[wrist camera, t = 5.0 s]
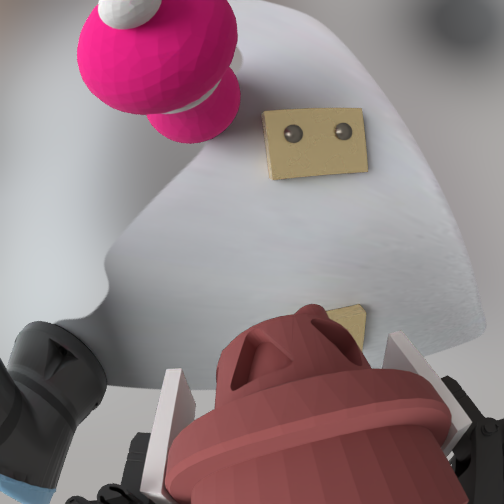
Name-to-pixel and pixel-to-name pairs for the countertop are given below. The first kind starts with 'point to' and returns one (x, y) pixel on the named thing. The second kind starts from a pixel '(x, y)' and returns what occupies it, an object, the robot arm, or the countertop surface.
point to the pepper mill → (164, 63)
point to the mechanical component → (313, 425)
